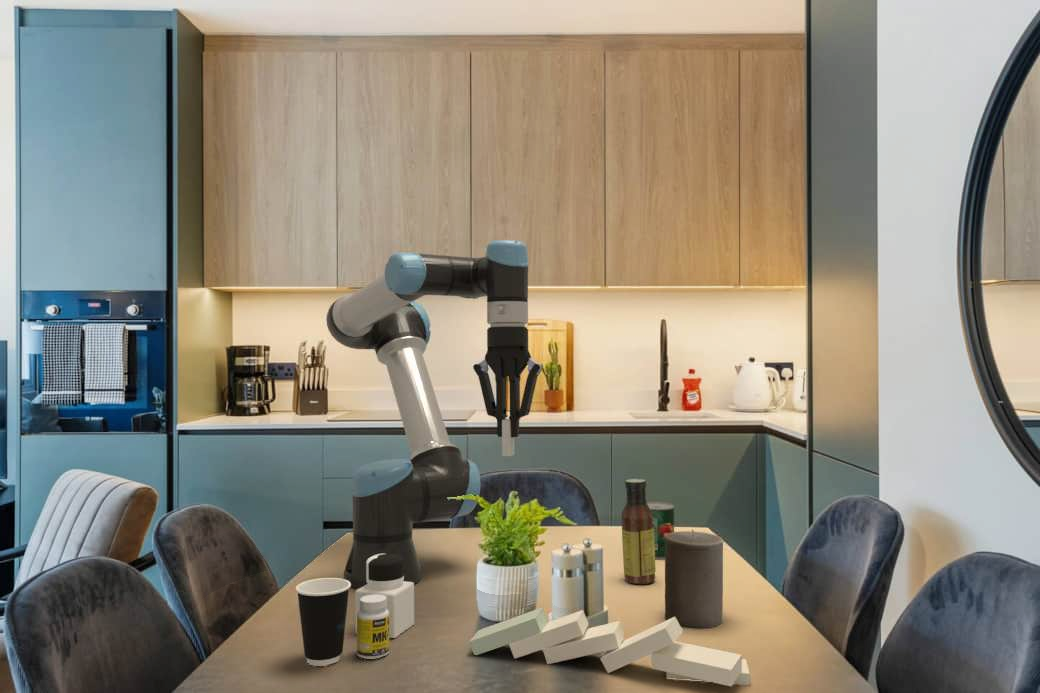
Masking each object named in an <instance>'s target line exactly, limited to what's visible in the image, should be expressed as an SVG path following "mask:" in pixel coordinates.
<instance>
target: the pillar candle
mask: <svg viewBox="0 0 1040 693" xmlns="http://www.w3.org/2000/svg"><path fill="white" fill-rule="evenodd" d="M723 573H724V539H723V537H721V536H718V535H715V534H713V533H712V534H711V533H708V532H704V531H694V529H691V530H690V531H687V530H685V531H674V532H672V533H669V534H667V535H666V536H665V559H664V619H666V620H669V619H671V618H673V617H676V619H677V621H678V623H679V625H680V626H681V627H684V628H692V629H694V628H695V629H706V628H713V627H717V626H719V625H721V624H722V623H723V615H724V614H723V611H724V610H723V609H724V608H723V607H724V606H723V604H724V602H723V598H724V597H723V596H724V588H723V587H724V574H723Z"/></svg>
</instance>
